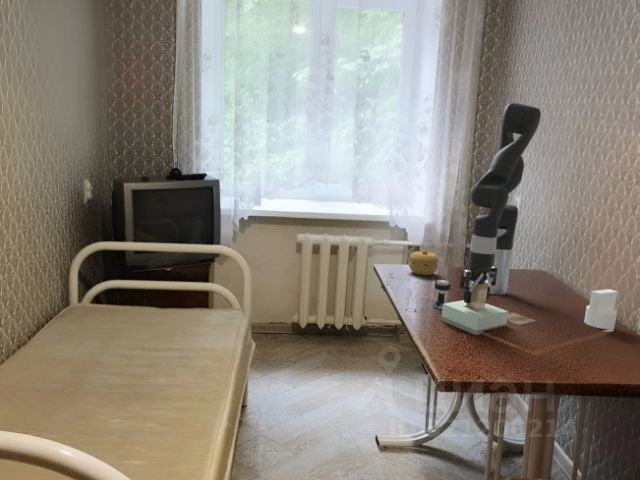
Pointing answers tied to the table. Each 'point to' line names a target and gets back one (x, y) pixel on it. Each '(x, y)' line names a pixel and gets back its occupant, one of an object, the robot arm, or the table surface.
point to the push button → (441, 293)
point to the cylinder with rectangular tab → (602, 310)
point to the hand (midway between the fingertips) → (476, 301)
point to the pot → (423, 262)
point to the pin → (478, 297)
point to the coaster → (518, 318)
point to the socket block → (473, 317)
